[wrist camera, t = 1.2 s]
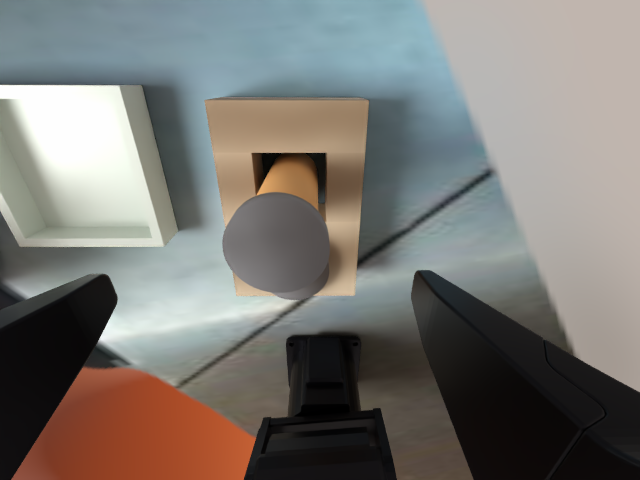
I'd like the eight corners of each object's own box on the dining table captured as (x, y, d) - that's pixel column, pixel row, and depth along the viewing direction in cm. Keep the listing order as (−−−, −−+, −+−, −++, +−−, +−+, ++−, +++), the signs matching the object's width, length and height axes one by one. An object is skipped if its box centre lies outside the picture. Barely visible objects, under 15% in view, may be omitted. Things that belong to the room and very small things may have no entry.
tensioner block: (350, 270, 23) (357, 309, 19) (245, 270, 23) (231, 310, 19) (360, 97, 17) (373, 102, 13) (221, 97, 17) (193, 101, 13)
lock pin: (323, 201, 20) (329, 292, 11) (267, 201, 20) (230, 293, 11) (324, 144, 18) (331, 200, 10) (262, 143, 18) (214, 200, 10)
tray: (178, 231, 21) (164, 246, 19) (47, 231, 21) (19, 246, 19) (141, 85, 17) (119, 85, 15) (-24, 84, 17) (-69, 85, 15)
